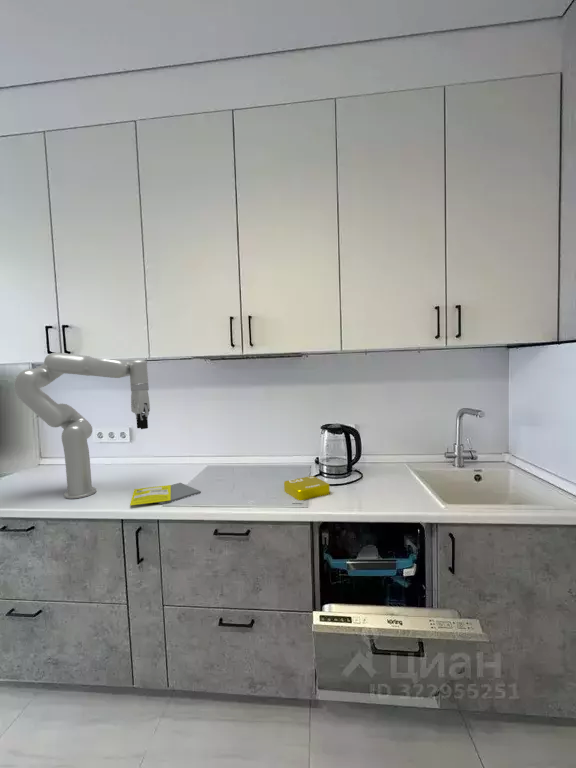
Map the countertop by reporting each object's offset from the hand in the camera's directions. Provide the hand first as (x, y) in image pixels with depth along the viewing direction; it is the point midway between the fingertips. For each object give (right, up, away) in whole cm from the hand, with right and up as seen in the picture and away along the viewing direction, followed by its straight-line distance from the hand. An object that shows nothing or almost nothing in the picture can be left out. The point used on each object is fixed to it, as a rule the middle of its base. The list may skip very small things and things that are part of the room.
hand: (142, 427), depth 181 cm
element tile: (+73, -26, -14) cm, 79 cm away
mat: (+16, -27, -9) cm, 33 cm away
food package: (+6, -26, -3) cm, 27 cm away
